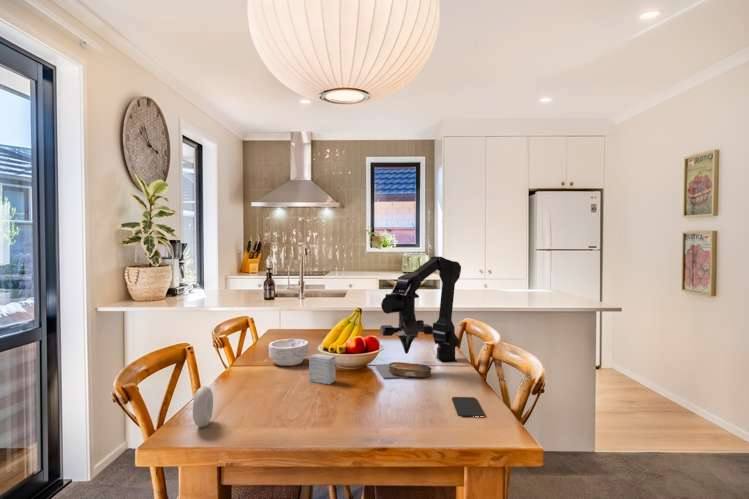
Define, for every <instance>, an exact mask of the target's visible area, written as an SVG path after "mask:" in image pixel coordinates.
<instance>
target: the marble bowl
mask: <svg viewBox="0 0 749 499" xmlns="http://www.w3.org/2000/svg"><path fill="white" fill-rule="evenodd" d="M309 350H310V349H309V341H307V340H305V339H300V338H286V339H285V338H284V339H277V340H274V341H272V342H270V343H269V344H268V357H269V358H270V359H272V360H273V361H274V363H275V364H276V365H277V366H283V367H291V366H292V367H293V366H296V365H297V366H298V365H300V364H301V363H303V361H304V359H305V358H306V357H308V356H309V352H310V351H309Z"/></svg>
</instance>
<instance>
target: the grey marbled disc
mask: <svg viewBox="0 0 749 499" xmlns="http://www.w3.org/2000/svg"><path fill="white" fill-rule="evenodd" d="M196 390H197V391H196V392H195V395H194V398H193V401H192V418H193V422H194V424H195V426H197V427H199V428H204V427H206V426H207V425H208V424H209V423H210V422H211V419H212V416H213V411H214V395H213V391H212V389H211V388H210V387H209V386H205V385H204V386H201V387H199V388H198V389H196Z"/></svg>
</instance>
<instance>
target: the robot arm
mask: <svg viewBox="0 0 749 499" xmlns="http://www.w3.org/2000/svg"><path fill="white" fill-rule="evenodd" d="M436 271H438V274H439V275H438V276H439V278H440V280H441V293H440V303H439V313H438V315H439V316H438V319H437V320H436V322H435V321H434V322H433V323H432V325H430V324H428V323H425V322H424V321H425V320H422V319H419V320H417V319H416V314H415V311H416V309H415V308H416V301H415V299H417V298H419V297H420V296H419V294H417V291H418V289H419V288H420V287H421V285H422V283H423V281H424V280H425V279H427V278H428V277H429V276H430V275H432V274H433V273H435V272H436ZM461 271H462V266H461V264H460V263H459V261H454V260H450V259H448V258H445V257H444V256H436V255H434V256H431V257H430V258H429V259H428V260H427V261H426V262H424V263H423V264H422V265H420V266H419V267H418V268H417V269H415V270H413V271H411V272H408V273H404V274H402V275H400V276H398V277H397V279H396V282H395V284H394V286H393V288H392V290H391V292H390V293H386V294H385V297H384V298H383V299H382V301H381V303H380V305H381V306H380V307H381V310H382V311H383V313H385V314H388V315H389V314H394V313H398V325H397V326H398V327H396V326H395V327H393V325H390V324H386V325H381V326H380V329H379V332H380V334H381V335H382V336H383V337H392V336H393V335H394V334H395V336H396V337H398V338H399V340H400V342H401V346H402V348H403V351H404V354H409V351H410V348H411V346H412V343H413V341H414V339H416V338H418V337H419V333H423V334H424V335H432V338H433V341H434V344H435V345H437V347H436V359H437V360H438V361H440V362H441V363H447V362H448V363H449V362H451V363H452V362H457V361H458V360H457V359H456V348H457V347H458V346H459V345H460V339H459V337H457V334H456V333H455V325H454V323H453V321H452V319H453V318H452V317H453V308H454V306H453V305H454V297H455V289H456V288H455V286H456V283H457V281H458V280H459V279H460V275H461Z"/></svg>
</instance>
